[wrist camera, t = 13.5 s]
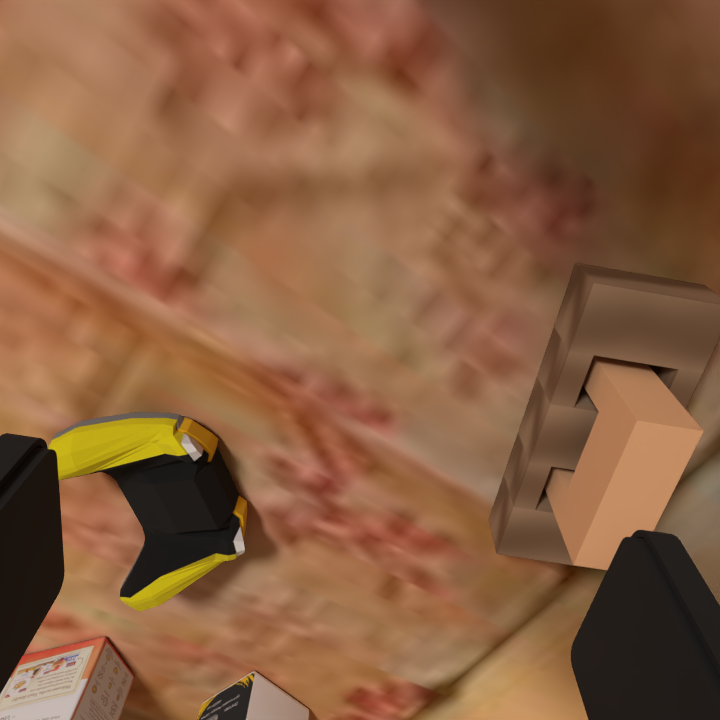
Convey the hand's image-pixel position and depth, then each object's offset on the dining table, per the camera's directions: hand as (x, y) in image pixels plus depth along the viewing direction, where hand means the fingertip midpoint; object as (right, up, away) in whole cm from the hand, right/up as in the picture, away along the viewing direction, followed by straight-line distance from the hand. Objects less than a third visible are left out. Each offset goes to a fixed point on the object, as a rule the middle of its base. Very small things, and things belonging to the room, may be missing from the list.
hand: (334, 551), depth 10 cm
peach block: (+16, 0, +31) cm, 35 cm away
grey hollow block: (+16, 0, +31) cm, 35 cm away
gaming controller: (-13, -5, +35) cm, 38 cm away
